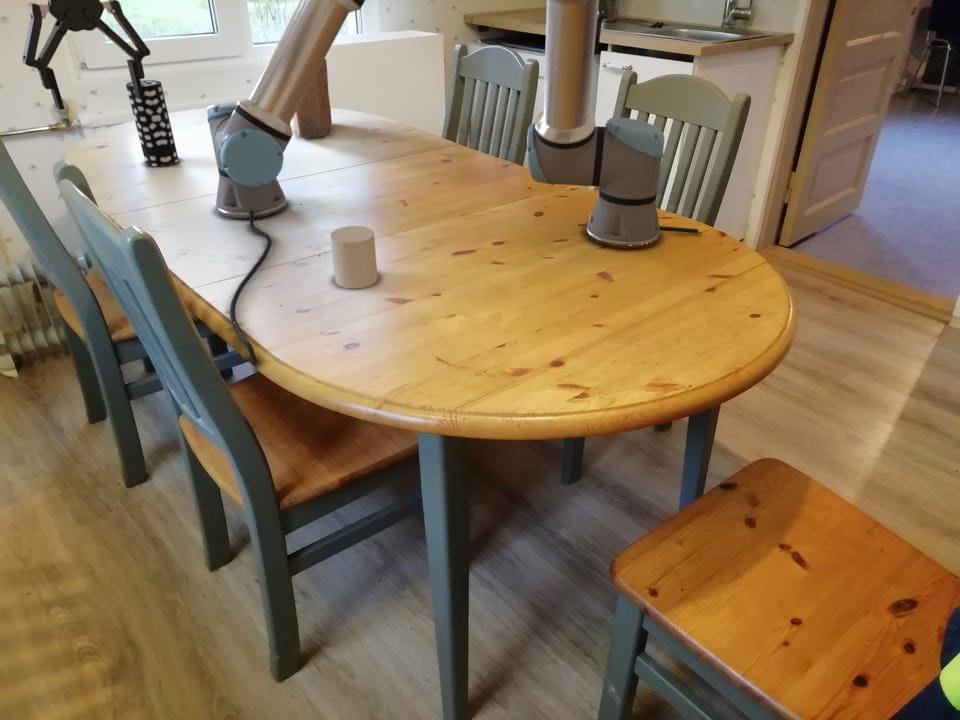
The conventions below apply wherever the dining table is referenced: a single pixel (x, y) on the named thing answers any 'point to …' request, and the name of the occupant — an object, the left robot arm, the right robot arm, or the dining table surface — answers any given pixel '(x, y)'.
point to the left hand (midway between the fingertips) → (101, 103)
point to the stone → (315, 108)
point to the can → (354, 256)
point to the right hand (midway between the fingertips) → (576, 49)
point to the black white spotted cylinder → (153, 124)
